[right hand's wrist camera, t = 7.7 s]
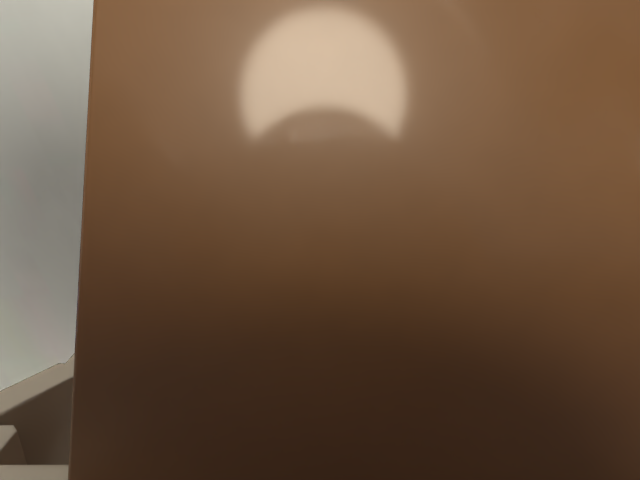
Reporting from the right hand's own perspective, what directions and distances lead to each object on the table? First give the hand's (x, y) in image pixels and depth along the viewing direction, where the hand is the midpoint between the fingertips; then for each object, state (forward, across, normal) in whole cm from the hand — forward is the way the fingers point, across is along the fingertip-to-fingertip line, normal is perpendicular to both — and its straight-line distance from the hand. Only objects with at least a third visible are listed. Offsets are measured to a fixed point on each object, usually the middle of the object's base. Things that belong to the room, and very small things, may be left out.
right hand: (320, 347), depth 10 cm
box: (+4, -2, -9) cm, 10 cm away
